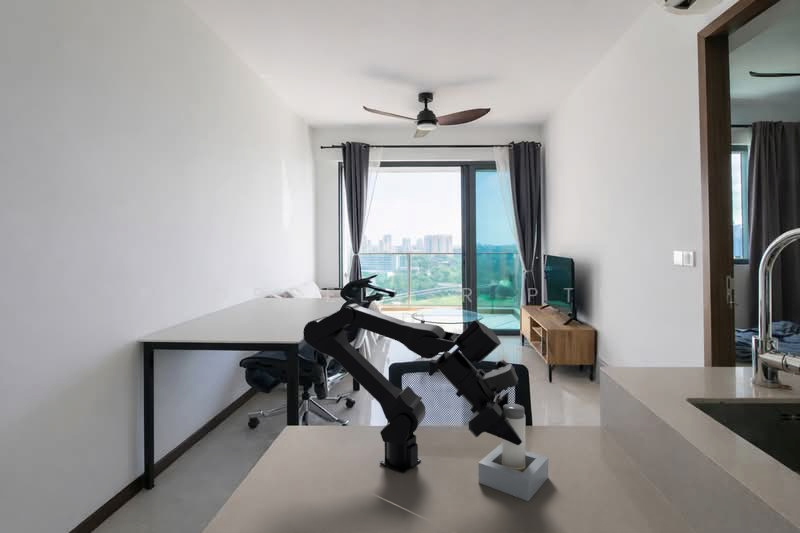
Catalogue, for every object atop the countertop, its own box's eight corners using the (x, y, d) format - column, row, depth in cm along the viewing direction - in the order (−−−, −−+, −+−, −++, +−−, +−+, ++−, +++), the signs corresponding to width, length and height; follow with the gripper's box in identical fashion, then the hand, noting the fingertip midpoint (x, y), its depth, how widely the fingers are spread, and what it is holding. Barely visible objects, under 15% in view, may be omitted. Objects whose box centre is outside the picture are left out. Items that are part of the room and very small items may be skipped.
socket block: (478, 482, 84) (478, 462, 84) (501, 461, 92) (501, 443, 91) (528, 501, 78) (528, 479, 77) (548, 477, 85) (548, 457, 85)
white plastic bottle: (496, 468, 85) (496, 406, 84) (512, 462, 88) (512, 401, 87) (514, 478, 81) (514, 413, 81) (530, 471, 84) (530, 408, 83)
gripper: (487, 363, 76) (553, 433, 73) (498, 340, 93) (551, 396, 90) (443, 402, 79) (505, 471, 76) (462, 373, 96) (512, 428, 93)
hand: (520, 438), depth 84 cm, fingers closed on white plastic bottle, 4 cm apart
